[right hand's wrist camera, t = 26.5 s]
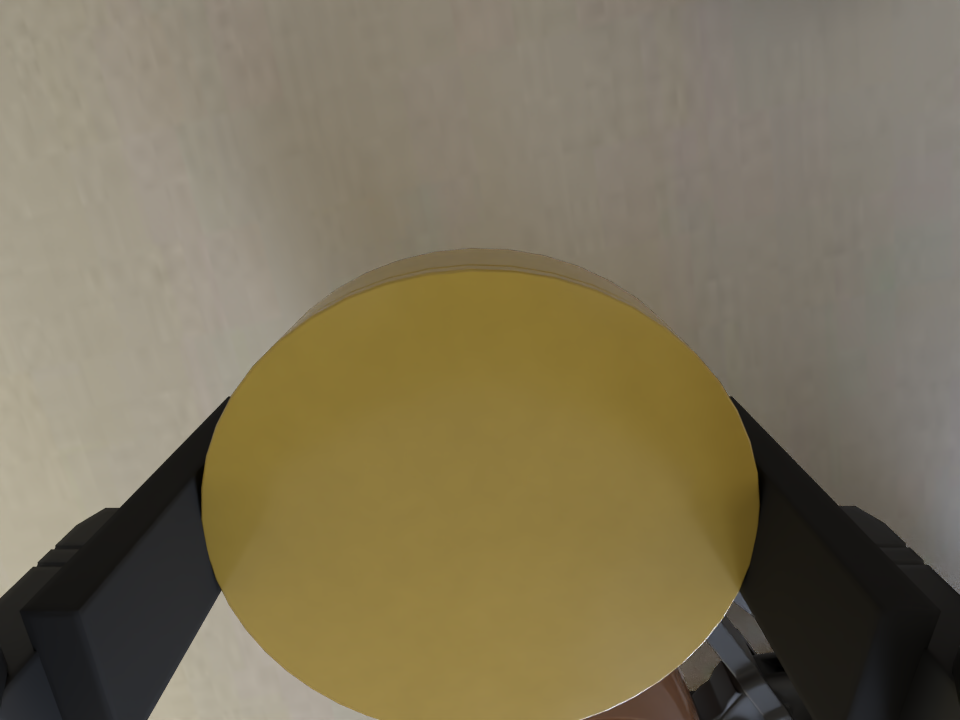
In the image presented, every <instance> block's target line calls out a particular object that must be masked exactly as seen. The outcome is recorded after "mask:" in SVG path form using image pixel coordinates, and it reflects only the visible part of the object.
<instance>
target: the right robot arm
mask: <svg viewBox="0 0 960 720" xmlns="http://www.w3.org/2000/svg"><path fill="white" fill-rule="evenodd" d="M229 399H230V397H228V398H227V399H226V400H225V401H224V402H223V403H222V404H221V405H220V406H219V407H218V408H217V409H216V410H215V411H214V412H213V413H212V414H211V415H210V416H209V417H208V418H207V419H206V420H205V421H204V422H203V423H202V424H201V425H200V426H199V427H198V428H197V429H196V430H195V431H194V432H193V433H192V434H191V435H190V436H189V437H188V439H187V440H186V441H185V442H184V443H183V444H182V445H181V446H180V447H179V448H178V449H177V450H176V451H175V452H174V453H173V454H172V455H171V456H170V457H169V458H168V459H167V460H166V461H165V462H164V463H163V464H162V465H161V466H160V467H159V468H158V469H157V470H156V471H155V472H154V473H153V474H152V475H151V476H150V477H149V478H148V480H147V481H146V482H145V483H144V484H143V485H142V486H141V487H140V488H139V489H138V490H137V491H136V492H135V493H134V494H133V495H132V496H131V497H130V498H129V499H128V500H127V501H126V502H125V503H124V504H123V505H122V506H121V507H120V508H105V509H103V510H101V511H100V512H98V513H96V514H95V515H93V516H91V517H89V518H88V519H86V520H84V521H83V522H81V523H79V524H78V525H76V526H75V527H74V528H73V529H72V530H71V531H70V532H69V533H68V534H67V535H66V536H65V537H64V538H63V539H62V540H61V541H60V542H58V543H57V544H56V545H55V549H51V550H50V551H49V552H48V553H47V554H46V555H45V556H44V557H43V558H42V559H41V560H40V561H39V562H38V565H37V567H32V568H31V569H30V570H29V571H28V572H27V573H26V574H25V575H24V576H23V577H22V578H21V579H20V580H19V581H18V582H17V583H16V584H15V585H14V586H13V587H11V588H10V589H9V590H8V591H7V592H6V593H5V594H4V595H3V596H2V597H1V598H0V720H148V718H149V716H150V714H151V713H152V711H153V709H154V707H155V706H156V704H157V702H158V700H159V699H160V697H161V695H162V693H163V692H164V690H165V688H166V686H167V685H168V683H169V681H170V679H171V678H172V676H173V674H174V672H175V671H176V669H177V667H178V665H179V664H180V662H181V660H182V658H183V657H184V655H185V653H186V651H187V650H188V648H189V646H190V644H191V643H192V641H193V639H194V637H195V636H196V634H197V632H198V630H199V629H200V627H201V625H202V623H203V622H204V620H205V618H206V616H207V615H208V613H209V611H210V609H211V608H212V606H213V604H214V602H215V601H216V599H217V597H218V595H219V594H220V592H221V588H220V586H219V584H218V582H217V580H216V578H215V575H214V572H213V569H212V565H211V562H210V559H209V555H208V551H207V546H206V541H205V536H204V531H203V526H202V520H201V485H202V479H203V472H204V466H205V460H206V455H207V452H208V449H209V446H210V442H211V439H212V436H213V433H214V430H215V427H216V424H217V423H218V421H219V419H220V417H221V415H222V413H223V411H224V409H225V407H226V405H227V403H228V401H229ZM730 399H731V401H732V402H733V404H734V406H735V407H736V409H737V410H738V413H739V415H740V418H741V420H742V422H743V425H744V427H745V430H746V432H747V435H748V437H749V439H750V442H751V446H752V451H753V455H754V459H755V463H756V468H757V472H758V485H759V499H760V509H759V520H758V528H757V534H756V539H755V543H754V548H753V552H752V557H751V562H750V566H749V568H748V570H747V573H746V575H745V578H744V580H743V582H742V585H741V587H740V590H739V591H740V593H741V595H742V597H743V598H744V600H745V602H746V604H747V605H748V607H749V609H750V611H751V612H752V614H753V616H754V618H755V619H756V621H757V623H758V625H759V626H760V628H761V630H762V632H763V633H764V635H765V637H766V639H767V640H768V642H769V644H770V645H771V647H772V649H773V651H774V652H775V654H776V656H777V658H778V659H779V661H780V663H781V665H782V666H783V668H784V670H785V672H786V673H787V675H788V677H789V679H790V680H791V682H792V684H793V686H794V687H795V689H796V691H797V693H798V694H799V696H800V698H801V700H802V701H803V703H804V705H805V707H806V708H807V710H808V712H809V714H810V715H811V717H812V719H813V720H960V595H959V594H958V593H957V592H956V591H955V590H954V589H953V588H952V587H951V586H950V585H949V584H948V583H947V582H946V581H945V580H944V579H942V578H941V577H940V576H939V575H938V574H937V573H936V572H935V571H934V570H933V569H932V568H931V567H930V566H929V565H924V563H923V559H921V558H920V557H919V556H918V555H917V554H916V553H915V552H914V551H913V550H912V549H911V548H907V547H906V543H905V542H904V541H903V540H901V539H900V538H899V537H898V536H897V535H896V534H895V533H894V532H893V531H892V530H891V529H890V528H889V527H888V526H887V525H886V524H885V523H883V522H881V521H880V520H878V519H876V518H875V517H873V516H871V515H870V514H868V513H866V512H864V511H863V510H861V509H859V508H858V507H856V506H838V505H837V504H836V503H835V502H834V501H833V500H832V499H831V498H830V497H829V496H828V494H827V493H826V492H825V491H824V490H823V489H822V488H821V487H820V486H819V485H818V484H817V483H816V482H815V481H814V480H813V479H812V478H811V477H810V476H809V475H808V474H807V473H806V472H805V471H804V470H803V469H802V468H801V467H800V466H799V465H798V464H797V463H796V462H795V461H794V460H793V459H792V458H791V457H790V456H789V455H788V453H787V452H786V451H785V450H784V449H783V448H782V447H781V446H780V445H779V444H778V443H777V442H776V441H775V440H774V439H773V438H772V437H771V436H770V435H769V434H768V433H767V432H766V431H765V430H764V429H763V428H762V427H761V426H760V425H759V424H758V423H757V422H756V421H755V420H754V419H753V418H752V417H751V416H750V415H749V414H748V412H747V411H746V410H745V409H744V408H743V407H742V406H741V405H740V404H739V403H738V402H737V401H736V400H735V399H734V398H733V397H730Z"/></svg>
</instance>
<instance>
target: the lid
mask: <svg viewBox="0 0 960 720" xmlns="http://www.w3.org/2000/svg"><path fill="white" fill-rule="evenodd" d="M759 509H760V499H759V485H758V472H757V468H756V463H755V459H754V455H753V451H752V446H751V442H750V439H749V437H748V435H747V432H746V430H745V427H744V425H743V422H742V420H741V418H740V415H739V413H738V410H737V409H736V407H735V406H734V404H733V402H732V401H731V399H730V397H729V396H728V394H727V393H726V391H725V389H724V388H723V386H722V384H721V383H720V381H719V380H718V379H717V378H716V376H715V375H714V374H713V373H712V372H711V370H710V369H709V368H708V367H707V366H706V365H705V363H704V362H703V361H702V360H701V359H700V358H699V356H698V355H697V354H696V353H695V352H694V351H693V350H692V349H691V348H690V347H689V346H688V345H687V344H686V343H685V342H684V341H683V340H682V339H681V338H680V337H679V336H678V335H677V334H676V333H675V332H674V331H673V330H672V329H671V328H670V327H669V326H668V325H667V324H666V323H665V322H664V321H663V320H662V319H661V318H659V317H658V316H657V315H656V314H655V313H654V312H652V311H651V310H650V309H649V308H648V307H647V306H646V305H644V304H643V303H642V302H641V301H640V300H639V299H637V298H636V297H634V296H633V295H631V294H630V293H628V292H626V291H625V290H623V289H622V288H620V287H619V286H617V285H616V284H614V283H613V282H611V281H609V280H607V279H605V278H603V277H601V276H599V275H596V274H594V273H592V272H590V271H588V270H586V269H583V268H581V267H579V266H576V265H573V264H570V263H567V262H563V261H560V260H557V259H554V258H551V257H547V256H544V255H538V254H532V253H526V252H520V251H514V250H508V249H481V248H468V249H458V250H448V251H437V252H432V253H428V254H423V255H419V256H415V257H410V258H406V259H402V260H399V261H396V262H393V263H391V264H388V265H385V266H383V267H380V268H377V269H375V270H372V271H370V272H367V273H365V274H363V275H361V276H360V277H358V278H356V279H354V280H352V281H351V282H349V283H347V284H345V285H343V286H341V287H340V288H338V289H336V290H335V291H333V292H332V293H331V294H329V295H328V296H327V297H325V298H324V299H323V300H321V301H320V302H319V303H317V304H316V305H315V306H313V307H312V308H311V309H309V310H308V311H307V312H306V313H305V314H304V315H303V316H302V317H301V318H300V319H299V320H298V321H297V322H296V323H295V324H294V325H293V326H292V327H291V328H290V329H289V330H288V331H287V332H286V333H285V334H284V335H283V336H282V337H281V338H280V339H279V340H278V341H277V342H276V343H275V344H274V345H273V346H272V347H271V348H270V349H269V350H268V351H267V352H266V353H265V354H264V355H263V356H262V357H261V358H260V359H259V360H258V361H257V362H256V363H255V364H254V365H253V367H252V368H251V369H250V371H249V372H248V373H247V375H246V376H245V377H244V379H243V380H242V382H241V383H240V384H239V386H238V387H237V388H236V390H235V391H234V392H233V394H232V395H231V397H230V399H229V401H228V403H227V405H226V407H225V409H224V411H223V413H222V415H221V417H220V419H219V421H218V423H217V424H216V427H215V430H214V433H213V436H212V439H211V442H210V446H209V449H208V452H207V455H206V460H205V466H204V472H203V479H202V485H201V520H202V526H203V531H204V536H205V541H206V546H207V551H208V555H209V559H210V562H211V565H212V569H213V572H214V575H215V578H216V580H217V582H218V584H219V586H220V588H221V590H222V592H223V594H224V596H225V598H226V600H227V602H228V604H229V606H230V607H231V609H232V610H233V612H234V613H235V615H236V616H237V618H238V619H239V620H240V622H241V623H242V625H243V626H244V628H245V629H246V630H247V632H248V633H249V634H250V635H251V636H252V637H253V638H254V640H255V641H256V642H257V643H258V644H259V645H260V646H261V647H262V649H263V650H264V651H265V652H266V653H267V654H268V655H270V656H271V657H272V658H273V659H274V660H275V661H276V662H277V663H279V664H280V665H281V666H282V667H283V668H284V669H285V670H286V671H288V672H289V673H290V674H292V675H293V676H295V677H296V678H297V679H299V680H300V681H302V682H303V683H304V684H306V685H307V686H309V687H310V688H312V689H313V690H315V691H317V692H319V693H320V694H322V695H324V696H326V697H328V698H329V699H331V700H333V701H335V702H337V703H338V704H341V705H343V706H345V707H348V708H350V709H352V710H355V711H357V712H359V713H362V714H364V715H366V716H369V717H373V718H376V719H379V720H582V719H585V718H588V717H590V716H593V715H596V714H599V713H601V712H604V711H607V710H609V709H611V708H613V707H615V706H617V705H619V704H621V703H623V702H625V701H627V700H629V699H632V698H634V697H635V696H637V695H639V694H640V693H642V692H643V691H645V690H647V689H648V688H650V687H651V686H653V685H655V684H656V683H658V682H660V681H661V680H662V679H663V678H665V677H666V676H667V675H669V674H670V673H671V672H672V671H674V670H675V669H676V668H677V667H679V666H680V665H681V664H683V663H684V662H685V661H686V660H687V659H688V658H689V657H690V656H691V655H692V654H693V653H694V652H695V651H696V650H697V649H698V648H699V647H700V646H701V645H702V644H703V643H704V642H705V641H706V639H707V638H708V637H709V636H710V634H711V633H712V632H713V631H714V629H715V628H716V627H717V625H718V624H719V623H720V622H721V620H722V619H723V618H724V616H725V614H726V613H727V611H728V609H729V607H730V606H731V604H732V602H733V601H734V599H735V597H736V596H737V594H738V592H739V590H740V587H741V585H742V582H743V580H744V578H745V575H746V573H747V570H748V568H749V566H750V562H751V557H752V552H753V548H754V543H755V539H756V534H757V528H758V520H759Z"/></svg>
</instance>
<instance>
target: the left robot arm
mask: <svg viewBox="0 0 960 720" xmlns="http://www.w3.org/2000/svg"><path fill="white" fill-rule="evenodd" d="M733 602H735V603H736V604H737V605H739V606H740V607H741V608H743V609H744V610H745V611H747V612H748V613H749V614H751V615H752V616H753V614H752V612H751V611H750V609H749V607H748V605H747V604H746V602H745V600H744V598H743V597H742V595H741V593H740V591H739V592H738V594H737V596H736V597H735V599H734V601H733ZM753 617H754V616H753ZM706 641H707V642H708V643H709V645H710V646H711V647H712V648H713V650H714V651H715V652H716V653H717V655H718V656H719V657H720V658H721V662H720V663H719V664H718V665H717V666H716V668H715V669H714V671H713V673H712V675H711V677H710V679H709V680H708V681H707V682H706V683H704V684H703V685H701V686H700V687H699V688H698V689H697V690H696V691H689V692H690V694H691V697H692V700H693V702H694V705H695V708H696V710H697V713H698V715H699V718H700V720H813V719H812V717H811V715H810V714H809V712H808V710H807V708H806V707H805V705H804V703H803V701H802V700H801V698H800V696H799V694H798V693H797V691H796V689H795V687H794V686H793V684H792V682H791V680H790V679H789V677H788V675H787V673H786V672H785V670H784V668H783V666H782V665H781V663H780V661H779V659H778V658H777V656H776V654H775V652H772V653H765V654H757V653H756V652H755V651H754V650H753V649H752V648H751V646H750V645H749V644H748V642H747V641H746V640H745V638H744V637H743V636H742V634H741V633H740V632H739V630H738V629H735V627H734V626H733V625H732V623H731V622H730V621H729V619H728V618H727V617H726V615H725V616H724V618H723V619H722V620H721V622H720V623H719V624H718V625H717V627H716V628H715V629H714V631H713V632H712V633H711V634H710V636H709V637H708V638H707V639H706Z"/></svg>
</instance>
